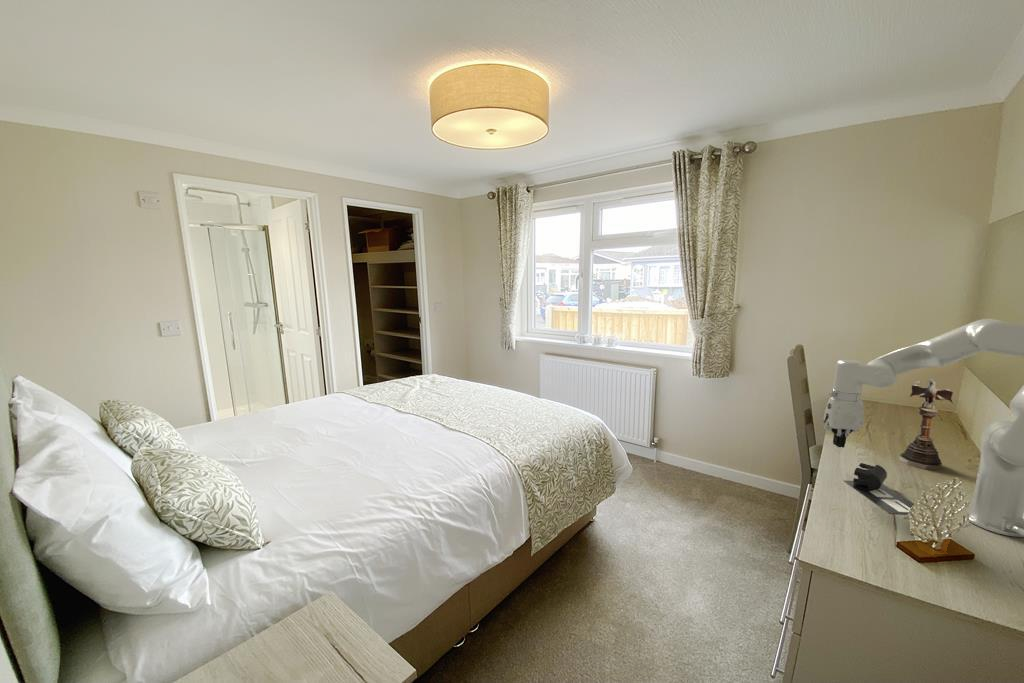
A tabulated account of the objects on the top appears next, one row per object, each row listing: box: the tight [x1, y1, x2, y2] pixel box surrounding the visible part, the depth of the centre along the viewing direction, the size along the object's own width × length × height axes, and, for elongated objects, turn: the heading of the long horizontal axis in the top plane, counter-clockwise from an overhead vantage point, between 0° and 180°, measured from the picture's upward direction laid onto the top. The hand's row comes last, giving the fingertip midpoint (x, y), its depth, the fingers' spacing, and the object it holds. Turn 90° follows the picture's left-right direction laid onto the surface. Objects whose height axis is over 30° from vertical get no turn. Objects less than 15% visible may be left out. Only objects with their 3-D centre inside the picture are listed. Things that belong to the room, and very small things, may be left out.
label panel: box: [843, 480, 915, 515], centre depth 131 cm, size 20×12×1 cm, turn 174°
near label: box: [881, 499, 911, 512], centre depth 126 cm, size 7×5×1 cm
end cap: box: [852, 462, 888, 491], centre depth 137 cm, size 10×7×7 cm
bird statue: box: [898, 378, 954, 471], centre depth 153 cm, size 17×13×35 cm
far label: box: [869, 488, 894, 498], centre depth 136 cm, size 10×5×1 cm, turn 174°
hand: (838, 445), depth 137 cm, fingers closed
